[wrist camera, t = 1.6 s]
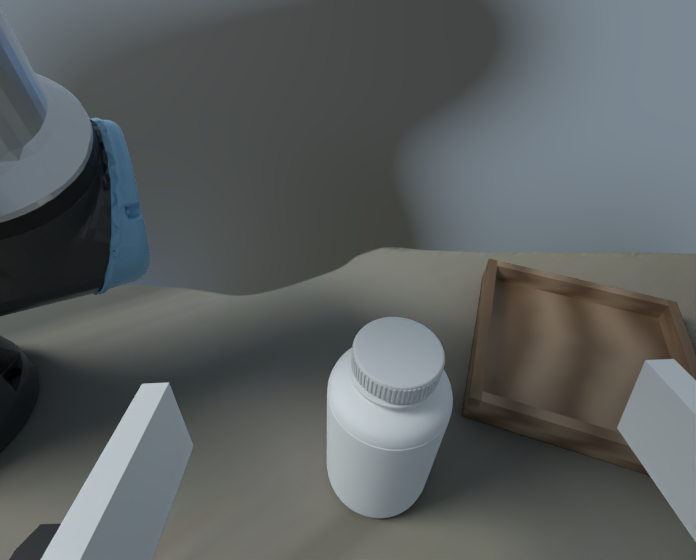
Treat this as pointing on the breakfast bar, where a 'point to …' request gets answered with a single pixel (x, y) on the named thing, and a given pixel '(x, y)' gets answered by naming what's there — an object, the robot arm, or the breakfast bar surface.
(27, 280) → the robot arm
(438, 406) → the pill bottle
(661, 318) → the tray
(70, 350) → the breakfast bar surface
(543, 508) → the breakfast bar surface
